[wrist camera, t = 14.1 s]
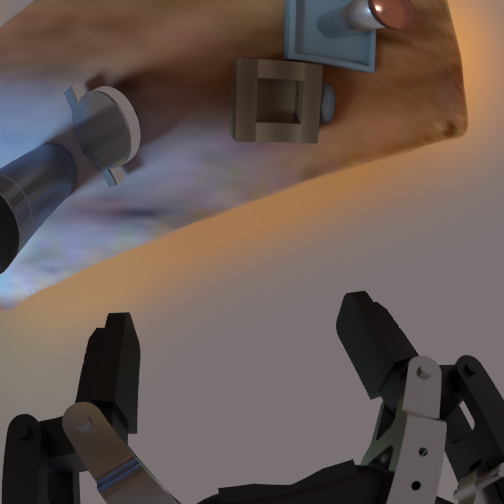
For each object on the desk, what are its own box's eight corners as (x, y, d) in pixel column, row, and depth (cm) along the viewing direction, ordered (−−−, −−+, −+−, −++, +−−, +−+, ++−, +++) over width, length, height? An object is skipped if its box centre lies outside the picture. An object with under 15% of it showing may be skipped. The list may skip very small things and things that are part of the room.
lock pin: (313, 37, 31) (374, 20, 18) (314, 7, 28) (373, -21, 16) (345, 43, 32) (414, 34, 19) (346, 14, 29) (413, -5, 16)
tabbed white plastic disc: (58, 99, 29) (63, 76, 21) (108, 74, 32) (129, 47, 24) (101, 189, 37) (120, 196, 29) (147, 160, 41) (178, 160, 32)
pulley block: (230, 133, 38) (235, 141, 33) (232, 62, 32) (237, 58, 27) (318, 135, 40) (335, 144, 35) (323, 69, 34) (342, 68, 29)
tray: (282, 60, 33) (288, 58, 31) (285, -19, 26) (290, -24, 24) (365, 72, 35) (374, 72, 33) (367, 0, 28) (376, -3, 26)
